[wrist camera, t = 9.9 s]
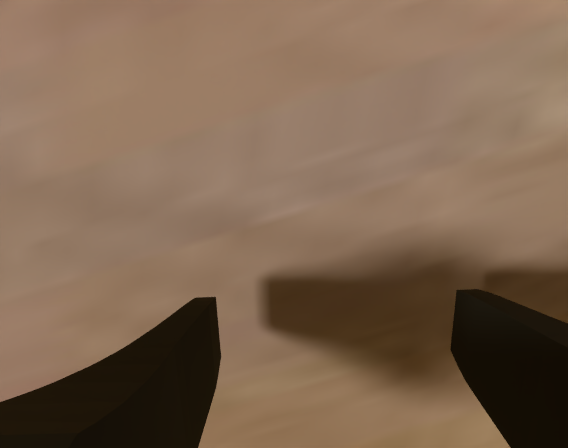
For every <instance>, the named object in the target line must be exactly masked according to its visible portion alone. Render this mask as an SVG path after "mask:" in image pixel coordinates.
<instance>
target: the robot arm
mask: <svg viewBox="0 0 568 448" xmlns="http://www.w3.org/2000/svg"><path fill="white" fill-rule="evenodd" d="M451 352H452V354H453V356H454V359H455V361H456V363H457V365H458V367H459V369H460V371H461V373H462V375H463V377H464V379H465V381H466V382H467V384H468V385H469V387H470V388H471V390H472V391H473V393H474V394H475V396H476V397H477V399H478V400H479V402H480V403H481V405H482V406H483V408H484V409H485V411H486V412H487V414H488V415H489V416H490V418H491V419H492V421H493V422H494V424H495V425H496V427H497V428H498V430H499V431H500V433H501V434H502V436H503V437H504V439H505V440H506V441H507V443H508V444H509V446H510V447H511V448H568V323H565V322H562V321H560V320H557V319H555V318H552V317H549V316H547V315H544V314H542V313H539V312H537V311H535V310H532V309H530V308H527V307H525V306H522V305H520V304H517V303H515V302H512V301H510V300H507V299H505V298H502V297H500V296H497V295H494V294H492V293H489V292H485V291H482V290H478V289H473V290H457V292H456V302H455V312H454V321H453V331H452V340H451ZM220 360H221V351H220V340H219V328H218V317H217V306H216V297H202V298H194V299H192V300H191V301H189V302H188V303H187V304H185V305H184V306H183V307H181V308H180V309H179V310H177V311H176V312H175V313H173V314H172V315H171V316H169V317H168V318H167V319H165V320H164V321H163V322H161V323H160V324H159V325H157V326H156V327H154V328H153V329H152V330H150V331H149V332H147V333H146V334H144V335H143V336H141V337H140V338H138V339H137V340H135V341H134V342H132V343H131V344H129V345H127V346H126V347H124V348H122V349H121V350H119V351H117V352H116V353H114V354H112V355H110V356H108V357H106V358H105V359H103V360H101V361H99V362H97V363H95V364H93V365H91V366H89V367H87V368H85V369H83V370H80V371H78V372H76V373H74V374H72V375H69V376H67V377H65V378H63V379H61V380H58V381H56V382H54V383H51V384H49V385H46V386H44V387H41V388H39V389H36V390H33V391H31V392H28V393H25V394H23V395H20V396H17V397H14V398H11V399H8V400H6V401H3V402H0V448H198V446H199V443H200V439H201V436H202V433H203V429H204V426H205V423H206V419H207V416H208V413H209V410H210V406H211V403H212V399H213V396H214V392H215V389H216V385H217V379H218V373H219V366H220Z"/></svg>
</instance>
